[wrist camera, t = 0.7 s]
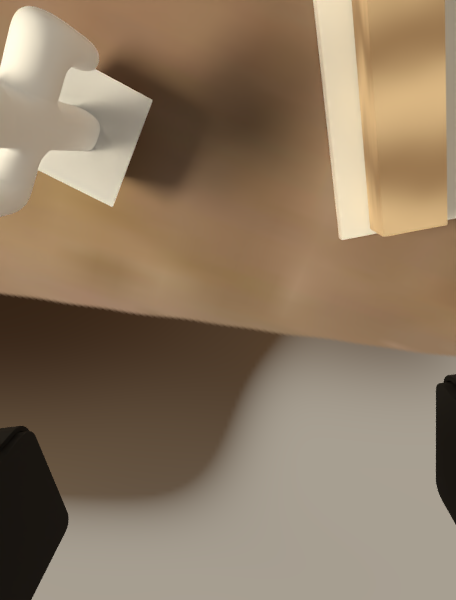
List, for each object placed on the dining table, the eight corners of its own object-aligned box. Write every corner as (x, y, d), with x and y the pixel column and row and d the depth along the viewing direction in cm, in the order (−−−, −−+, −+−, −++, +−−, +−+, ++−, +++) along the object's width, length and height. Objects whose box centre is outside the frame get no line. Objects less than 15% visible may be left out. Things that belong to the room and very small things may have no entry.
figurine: (171, 91, 26) (83, 16, 12) (123, 214, 30) (10, 265, 15) (73, 38, 26) (-140, -108, 11) (35, 170, 29) (-169, 182, 15)
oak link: (314, -256, 19) (336, -396, 14) (428, -296, 19) (492, -456, 14) (358, 231, 28) (382, 246, 23) (438, 215, 27) (480, 228, 22)
